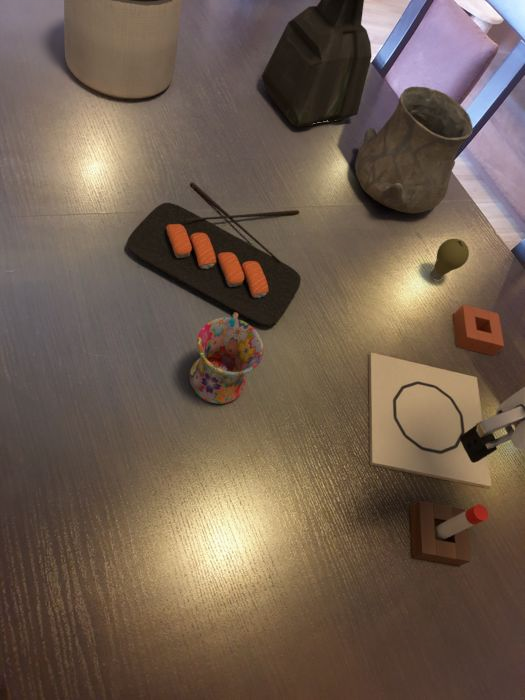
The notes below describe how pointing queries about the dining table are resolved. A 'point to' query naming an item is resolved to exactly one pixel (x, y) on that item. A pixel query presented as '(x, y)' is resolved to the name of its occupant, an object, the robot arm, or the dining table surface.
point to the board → (423, 420)
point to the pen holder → (478, 330)
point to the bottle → (320, 63)
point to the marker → (461, 522)
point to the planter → (122, 45)
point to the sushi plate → (217, 260)
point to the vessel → (413, 151)
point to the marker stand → (424, 539)
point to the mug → (225, 359)
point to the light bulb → (449, 257)
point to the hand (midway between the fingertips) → (500, 441)
